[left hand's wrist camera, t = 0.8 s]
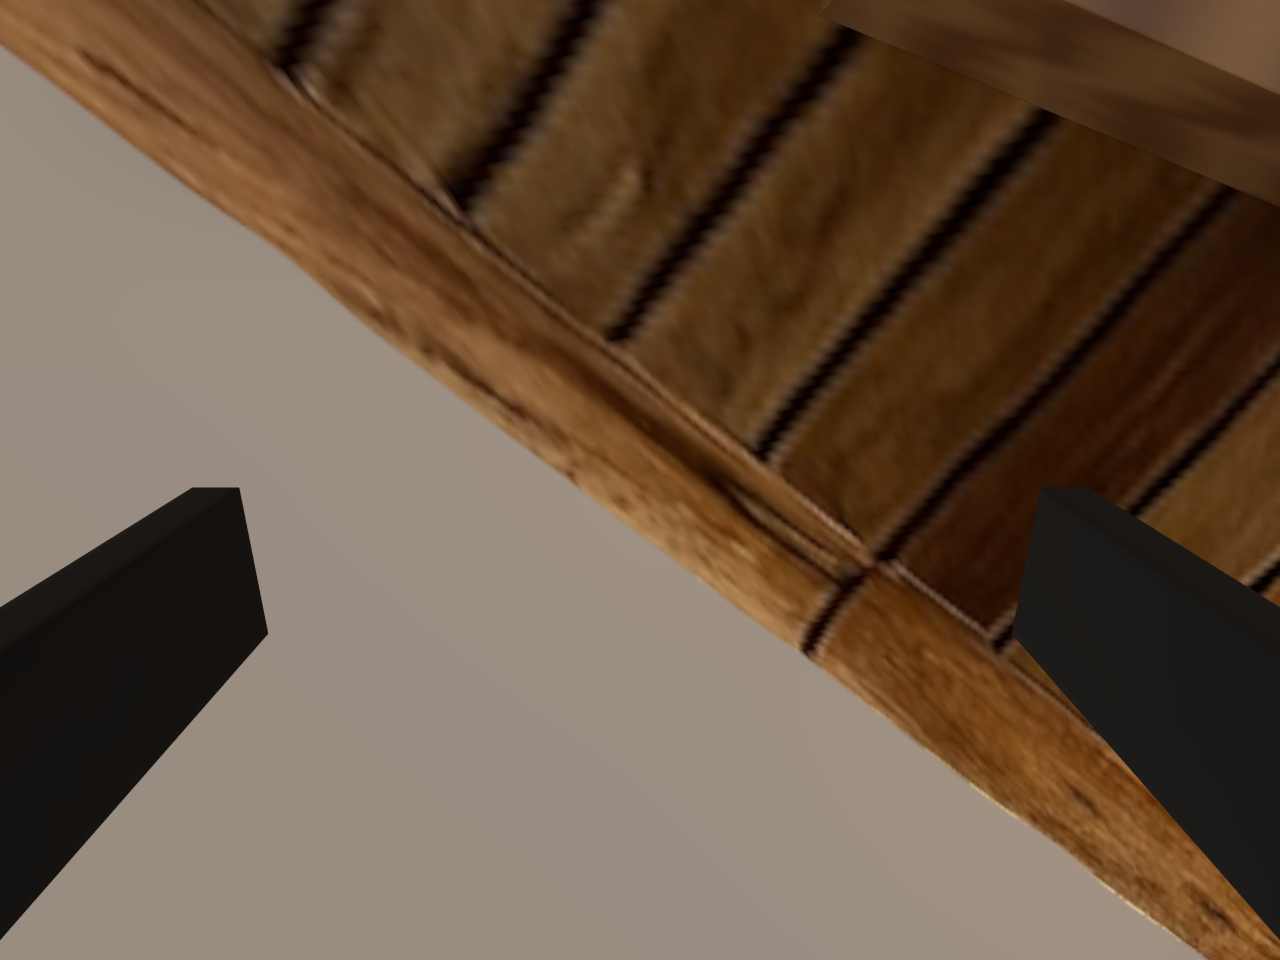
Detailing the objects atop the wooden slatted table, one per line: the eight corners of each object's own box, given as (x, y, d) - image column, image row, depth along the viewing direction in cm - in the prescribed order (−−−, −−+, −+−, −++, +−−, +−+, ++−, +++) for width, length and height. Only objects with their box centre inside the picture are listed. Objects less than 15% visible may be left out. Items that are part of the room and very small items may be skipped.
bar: (816, 15, 29) (896, -74, 20) (881, -158, 28) (999, -338, 19) (1371, 246, 33) (1651, 256, 24) (1461, 105, 31) (1802, 59, 22)
